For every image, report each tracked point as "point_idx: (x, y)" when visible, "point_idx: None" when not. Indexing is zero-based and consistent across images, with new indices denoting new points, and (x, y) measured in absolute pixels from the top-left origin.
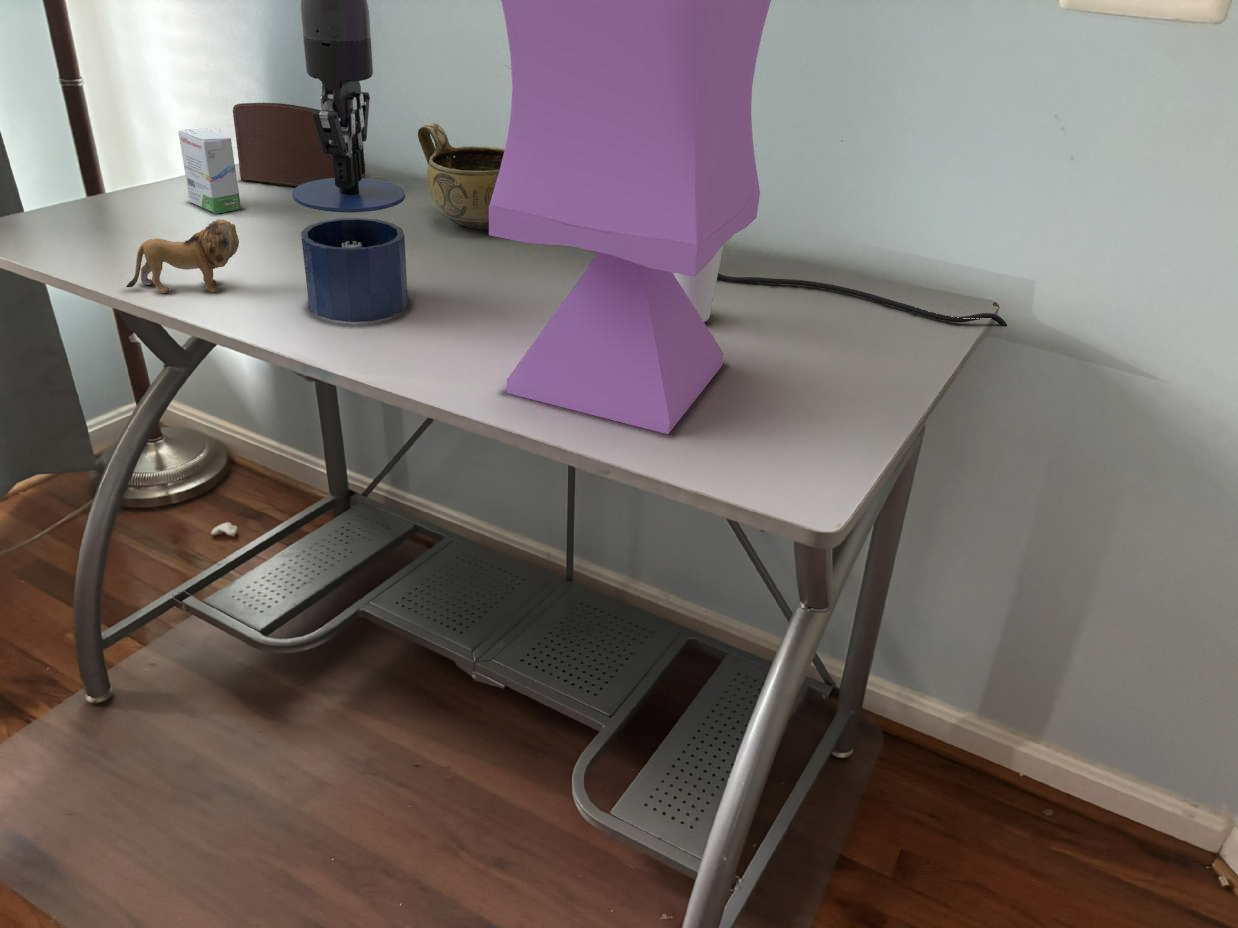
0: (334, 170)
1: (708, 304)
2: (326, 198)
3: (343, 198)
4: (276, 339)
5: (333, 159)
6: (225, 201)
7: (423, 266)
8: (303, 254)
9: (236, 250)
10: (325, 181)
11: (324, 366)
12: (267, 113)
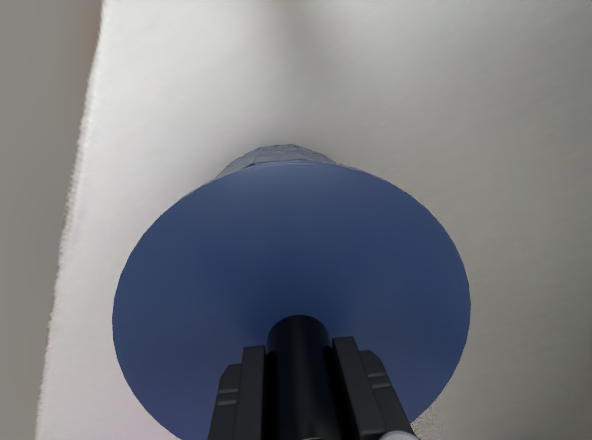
0: (239, 391)
1: None
2: (200, 312)
3: (225, 353)
4: (117, 157)
5: (233, 437)
6: None
7: (475, 247)
8: (215, 178)
9: None
10: (392, 227)
11: (68, 260)
12: None
